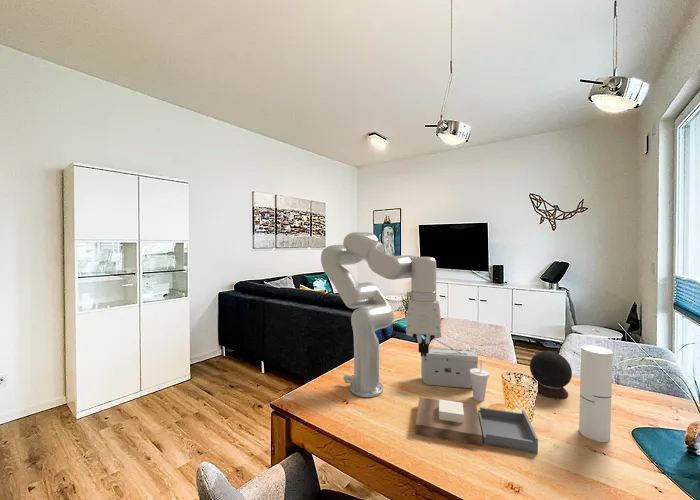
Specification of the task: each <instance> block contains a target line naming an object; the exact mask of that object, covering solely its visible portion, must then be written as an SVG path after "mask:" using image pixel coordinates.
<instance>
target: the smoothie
mask: <svg viewBox="0 0 700 500" xmlns="http://www.w3.org/2000/svg"><path fill="white" fill-rule="evenodd" d="M479 362H480V363H479V368H473V369H471V370H470V375H471V382H472V388H471V389H472V398H473V399H474V400H475V401H478V402H484V401H485V398H486V393H487V385H488V379H489V377H490V374H489V372H488V371H487V370H485V369H484V368H483V366H482V365H483V360H482V359H479Z"/></svg>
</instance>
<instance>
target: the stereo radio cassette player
mask: <svg viewBox="0 0 700 500" xmlns="http://www.w3.org/2000/svg"><path fill="white" fill-rule="evenodd" d="M434 340H435V341H436V342H438V343H440V344H441V345H444V346H445V347H434V346H433V347H432V346H431V347H430V346H429V353H427V354H426V357H424V354H423V356H421V355H420V358H421V365H420V369H421V371H420V372H421V373H420V374H421V379H422V382H423V383H424V384H425V385H426V386H438V387H440V386H441V387H451V388H463V389H465V388H466V389H472V382H471V375H470V370H471V369H473V368H478V367H479V366H478V364H479V363H478V362H479V361H478V360H479V356H478V353H477V351H476V350H475V349H468V348H467V349H464V348H453V347H451V346H450V345H447V344H446V343H444V342H442V341H440V340H438V339H437V338H436V339H434ZM478 369H479V368H478Z"/></svg>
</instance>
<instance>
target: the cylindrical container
mask: <svg viewBox="0 0 700 500" xmlns="http://www.w3.org/2000/svg"><path fill="white" fill-rule="evenodd" d="M613 354H614V352H613V351H612V350H611V349H609V348H606V347H602V346H597V345H591V344H585V345H581V346H580V375H579V377H580V379H579V380H580V382H579V383H580V384H579V411H578V412H579V415H578V416H579V417H578V431H579V433H580V434H581V435H582V436H584V437H586V438H587V439H590V440H591V441H592V440H593V441H596V442H598V443H599V442H600V443H608V442H610V441H611V429H612V427H611V425H612V419H611V418H612V391H613V390H612V389H613V359H614V358H613V357H614V355H613Z"/></svg>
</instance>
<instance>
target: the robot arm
mask: <svg viewBox="0 0 700 500" xmlns="http://www.w3.org/2000/svg"><path fill="white" fill-rule="evenodd" d="M342 242H343V243H342V244H332V245H329V246H326V247H324V249H322V251H321V254H320V262H321V268H322V269H323V272H324V273H325V275H326V276H327V277H328V279H329V280H330V281H331V284H332V285H334V288H335V289H336V291H337V293H338V295H339V296H340V298H341V300H342V302H343V303H344V304H345V306H346V307H347V308H349V309H355V310H354V311H353V312H352V314H351V318H350V322H351V327H352V328H351V329H352V332H353V334H352V335H353V374H352V375H349V374H344V375H343V380H344V384H345V383H346V384H350V385H349V391H350V392H351V393H352V395H353V394H354V395H355V396H358V397H362V398H374V397H377V396H379V395H381V394H382V393H383V391H384V386H383V384H382V383H381V382H380V340H379V338H378V336H377V334H376V331H378V330H381V329H386V328H389V326H391V325H392V324H393V322H394V319H395V316H394V311H393V309H392V307H391V305H390V304H389V302H388V301H387V299H386V297H385V296H384V294H383V293H382V292H381V289H380V288H379V287H378V286H377V285H376V284H374V283H372V282H358V281H357V280H356V279H355V278H354V275H353V274H352V272H351V271H349V270H348V269H347V268H345V267H343V266H344V265H357V264H358V263H360V262H362V261H365V262H366V263H367V264H368V268H369V269H370V270H371V271H372V272H373V273H375V274H377V275H378V276H380V277H382V278H384V279H387V280H389V281H390V280H393V281H394V280H401V279H402V280H403V279H411V280H410V281H411V285H410V286H411V287H410V288H411V289H410V291H407V292H406V297H408V298H410V299H409V301H408V304H407V311H406V333H405V334H406V336H408V337H413V338H414V339H415V341H416V342H417V343H418V353H420V357H421V356H423V354H424V357H426V354H427V353H429V347H430V345H429V344H430V343H431V342H432V341H434V340H435V339H436V340H437V339H440V338H442V336H443V335H442V332H441V329H442V328H441V327H442V324H441V323H442V322H441V308H440V302H439V300H437V260H436V259H435V258H434V257H431V256H416V255H411V254H410V255H389V254H387V253H384V252H385V248H384V244H383V243H382V242H381V241H379V238H378V237H377V236H376V235H375V234H374V233H371V232H366V231H365V232H364V231H363V232H360V231H359V232H358V231H353V232H350V233H348V234H347V235H345V237H344V239H343V241H342ZM422 335H423V336H425V339H423V336H422Z"/></svg>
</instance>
